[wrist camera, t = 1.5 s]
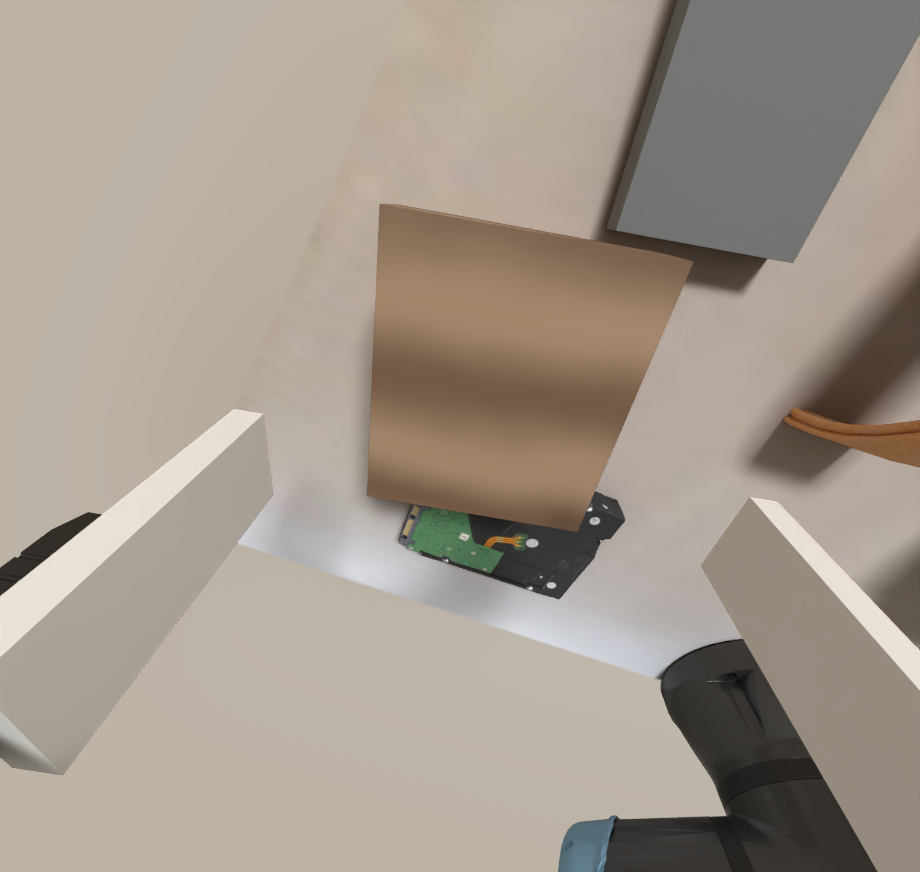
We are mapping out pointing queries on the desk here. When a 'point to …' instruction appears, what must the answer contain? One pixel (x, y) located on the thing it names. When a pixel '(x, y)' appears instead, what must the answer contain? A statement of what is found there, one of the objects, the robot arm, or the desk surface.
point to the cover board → (506, 362)
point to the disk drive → (513, 544)
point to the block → (757, 118)
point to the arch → (864, 436)
